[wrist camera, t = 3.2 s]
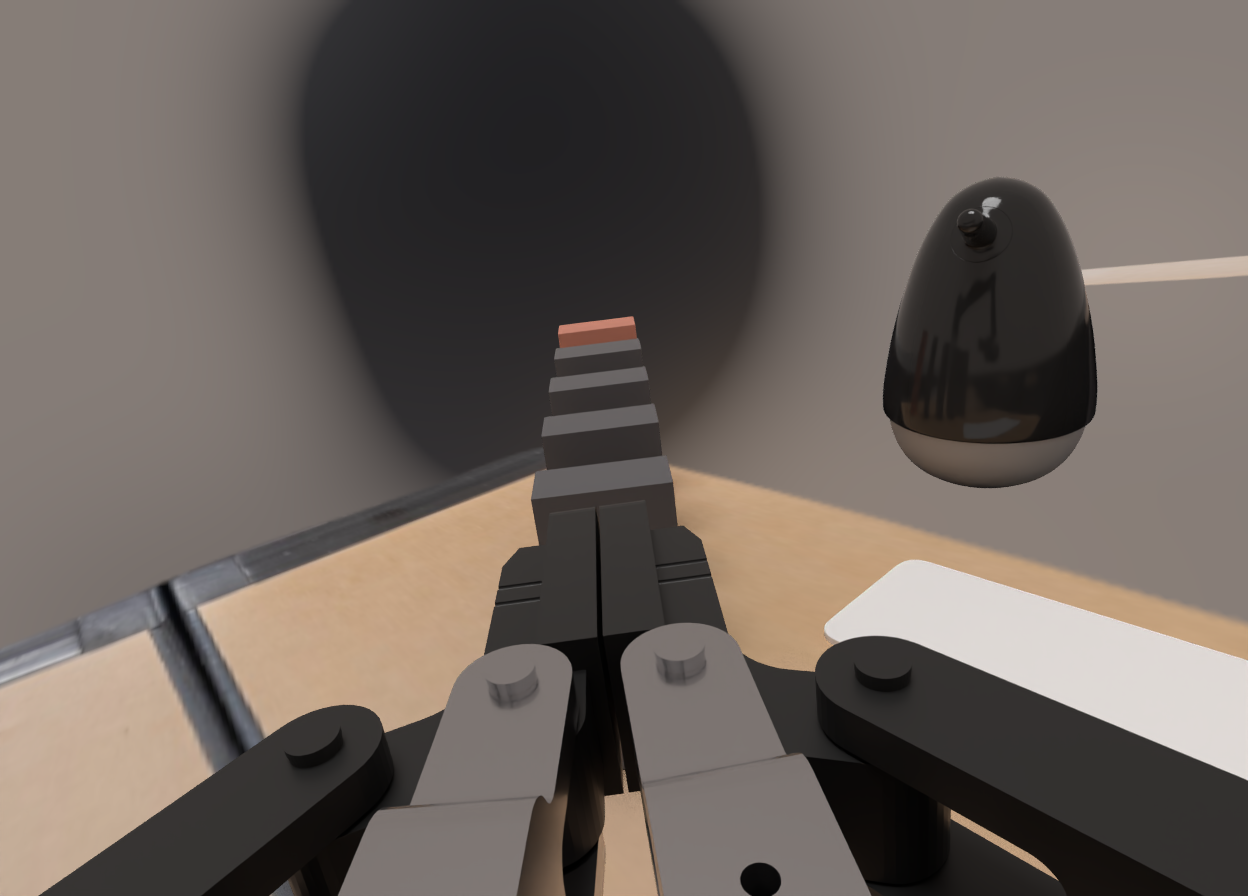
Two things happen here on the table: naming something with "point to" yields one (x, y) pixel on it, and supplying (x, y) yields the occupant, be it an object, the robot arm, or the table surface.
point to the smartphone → (1065, 657)
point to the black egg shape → (992, 341)
